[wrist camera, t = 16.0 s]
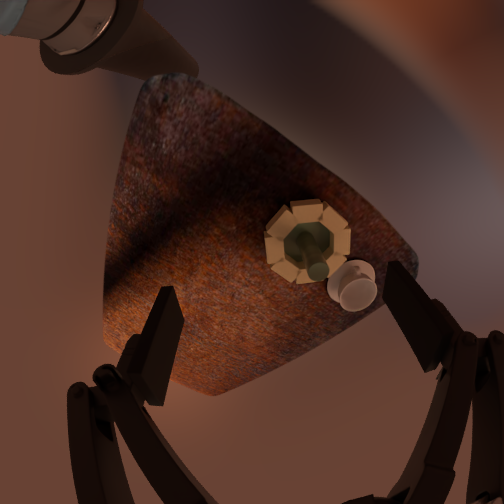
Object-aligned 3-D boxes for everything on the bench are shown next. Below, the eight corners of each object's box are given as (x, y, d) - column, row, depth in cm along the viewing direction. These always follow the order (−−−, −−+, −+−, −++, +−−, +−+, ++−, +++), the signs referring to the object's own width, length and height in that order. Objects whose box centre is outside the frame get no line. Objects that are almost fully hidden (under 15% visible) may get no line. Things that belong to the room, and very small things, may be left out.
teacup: (371, 296, 52) (379, 311, 48) (326, 305, 53) (332, 320, 48) (375, 254, 47) (385, 267, 43) (326, 262, 48) (332, 276, 44)
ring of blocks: (260, 204, 41) (261, 209, 39) (345, 196, 41) (351, 201, 38) (268, 278, 48) (269, 287, 45) (343, 269, 47) (348, 277, 45)
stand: (275, 214, 44) (283, 245, 34) (329, 208, 43) (352, 238, 33) (279, 262, 48) (287, 302, 38) (328, 256, 47) (348, 294, 37)
